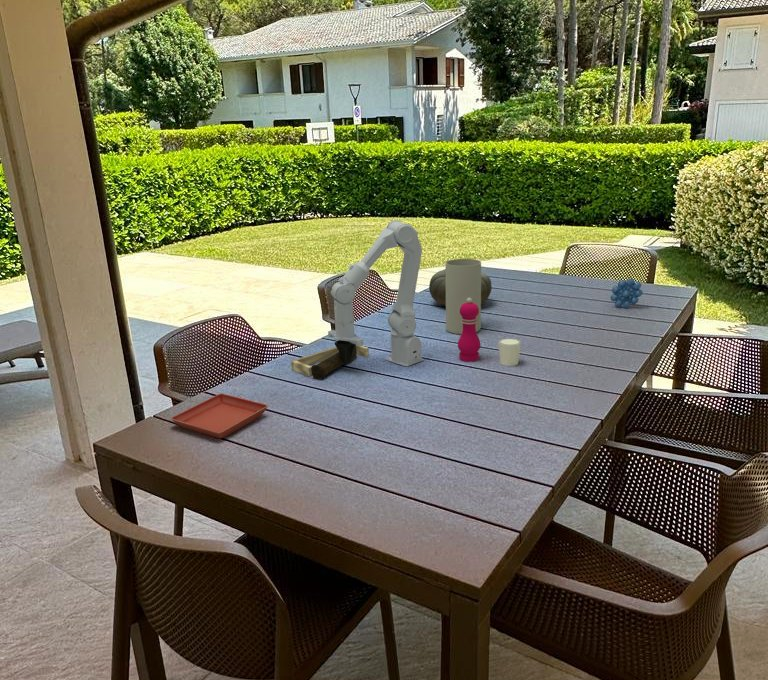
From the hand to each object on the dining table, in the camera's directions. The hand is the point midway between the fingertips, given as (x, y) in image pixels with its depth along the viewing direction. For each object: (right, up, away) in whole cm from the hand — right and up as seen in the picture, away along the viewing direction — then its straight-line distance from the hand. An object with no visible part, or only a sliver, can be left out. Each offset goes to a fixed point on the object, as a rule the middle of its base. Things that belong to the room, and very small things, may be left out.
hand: (346, 363), depth 202 cm
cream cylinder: (+51, 0, 0) cm, 51 cm away
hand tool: (-4, -2, +3) cm, 5 cm away
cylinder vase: (+41, +11, +34) cm, 54 cm away
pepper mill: (+39, +1, +5) cm, 39 cm away
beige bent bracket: (-5, 0, +6) cm, 8 cm away
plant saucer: (-31, -15, -33) cm, 47 cm away
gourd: (+44, +22, +67) cm, 83 cm away
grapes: (+107, +20, +53) cm, 121 cm away
